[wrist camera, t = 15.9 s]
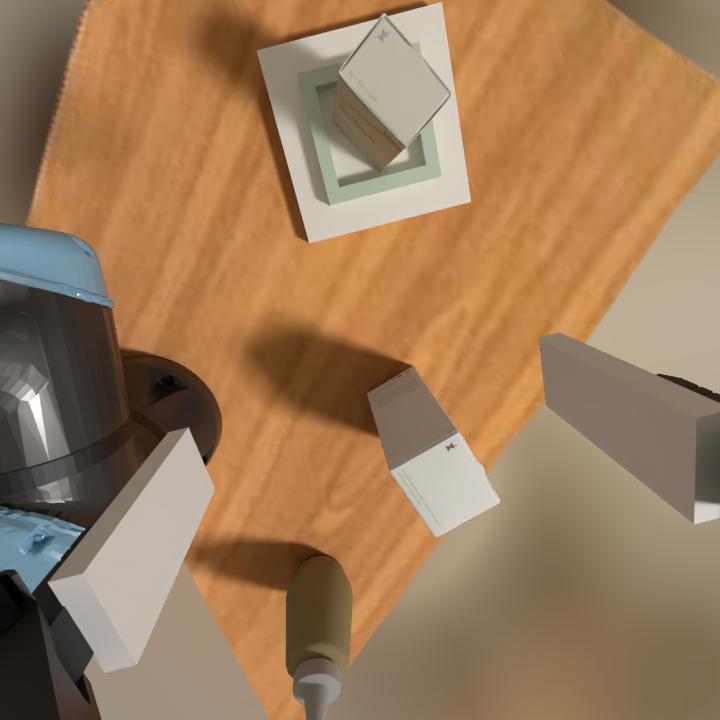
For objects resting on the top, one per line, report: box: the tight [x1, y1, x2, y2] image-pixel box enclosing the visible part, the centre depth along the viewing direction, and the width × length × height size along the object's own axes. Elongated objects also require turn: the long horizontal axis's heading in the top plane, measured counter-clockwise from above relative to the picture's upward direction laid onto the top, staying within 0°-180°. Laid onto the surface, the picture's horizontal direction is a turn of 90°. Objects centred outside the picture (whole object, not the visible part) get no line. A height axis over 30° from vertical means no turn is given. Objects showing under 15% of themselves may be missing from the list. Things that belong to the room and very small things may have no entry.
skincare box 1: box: [332, 13, 452, 172], centre depth 31 cm, size 6×4×12 cm
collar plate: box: [257, 2, 471, 243], centre depth 36 cm, size 16×16×3 cm
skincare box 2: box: [367, 366, 500, 537], centre depth 39 cm, size 8×7×16 cm
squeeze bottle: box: [286, 555, 353, 720], centre depth 44 cm, size 8×8×18 cm
